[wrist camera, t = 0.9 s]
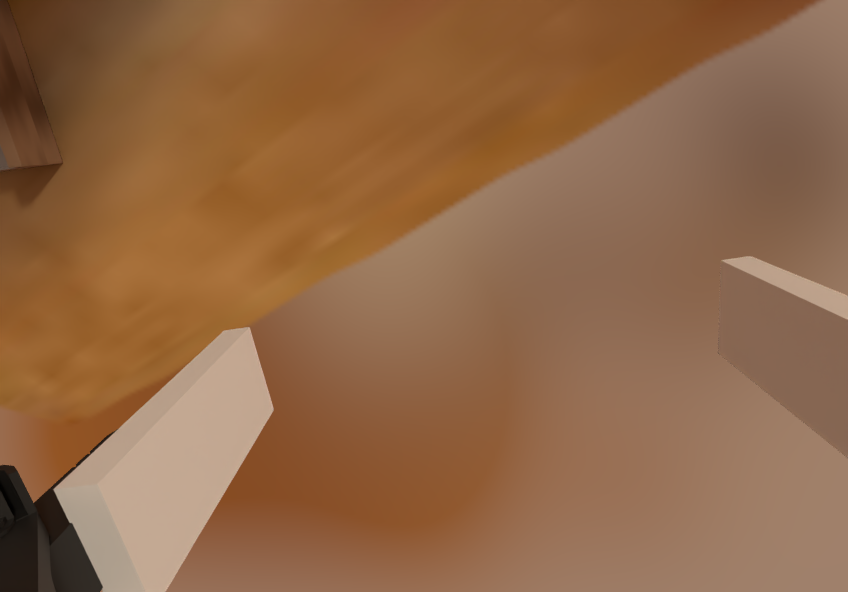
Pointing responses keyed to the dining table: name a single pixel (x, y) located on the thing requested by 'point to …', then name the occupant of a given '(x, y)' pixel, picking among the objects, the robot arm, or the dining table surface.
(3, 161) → the bookend
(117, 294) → the dining table surface
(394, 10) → the dining table surface
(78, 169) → the dining table surface
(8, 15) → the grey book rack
